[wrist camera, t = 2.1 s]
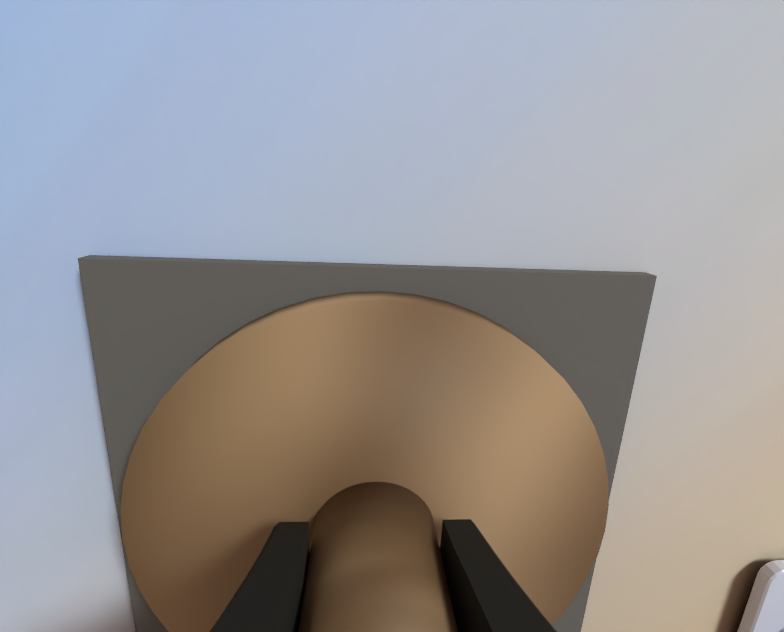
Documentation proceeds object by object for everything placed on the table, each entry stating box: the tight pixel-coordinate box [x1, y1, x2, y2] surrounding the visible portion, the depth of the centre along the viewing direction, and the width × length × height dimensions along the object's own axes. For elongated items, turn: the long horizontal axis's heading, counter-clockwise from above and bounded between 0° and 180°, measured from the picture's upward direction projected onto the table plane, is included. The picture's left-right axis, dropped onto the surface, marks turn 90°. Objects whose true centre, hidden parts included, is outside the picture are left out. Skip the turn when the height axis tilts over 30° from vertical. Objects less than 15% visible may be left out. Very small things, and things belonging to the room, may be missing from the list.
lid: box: [120, 291, 609, 632], centre depth 8 cm, size 11×11×5 cm
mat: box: [78, 255, 657, 632], centre depth 11 cm, size 12×12×1 cm
